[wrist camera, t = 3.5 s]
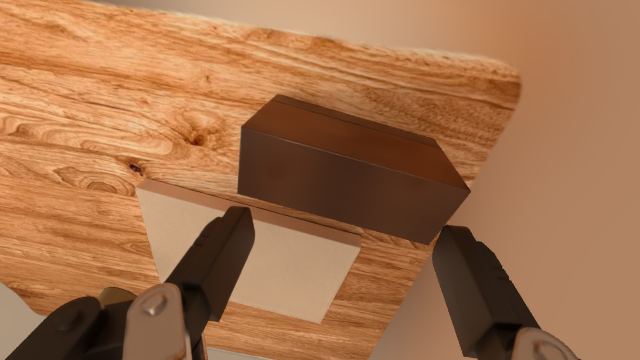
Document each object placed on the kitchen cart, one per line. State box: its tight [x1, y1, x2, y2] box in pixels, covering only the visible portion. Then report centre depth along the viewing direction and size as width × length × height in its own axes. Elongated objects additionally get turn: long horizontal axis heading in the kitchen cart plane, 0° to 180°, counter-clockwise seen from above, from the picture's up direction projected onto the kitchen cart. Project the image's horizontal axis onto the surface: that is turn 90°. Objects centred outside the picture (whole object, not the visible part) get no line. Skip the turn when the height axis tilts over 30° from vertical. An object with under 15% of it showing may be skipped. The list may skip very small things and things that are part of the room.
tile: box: [135, 178, 361, 324], centre depth 25 cm, size 20×15×2 cm
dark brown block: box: [237, 94, 471, 245], centre depth 14 cm, size 11×4×6 cm, turn 76°
